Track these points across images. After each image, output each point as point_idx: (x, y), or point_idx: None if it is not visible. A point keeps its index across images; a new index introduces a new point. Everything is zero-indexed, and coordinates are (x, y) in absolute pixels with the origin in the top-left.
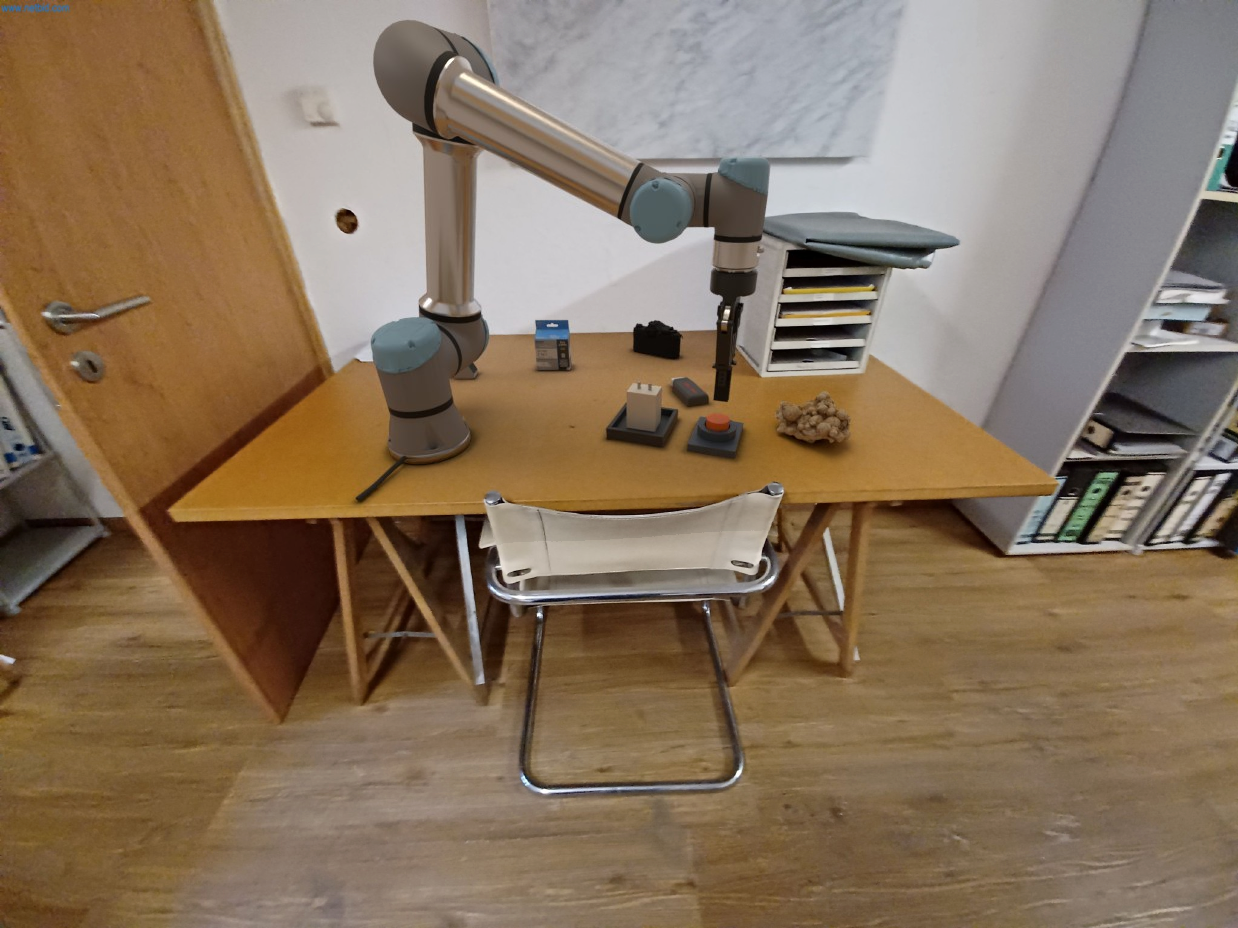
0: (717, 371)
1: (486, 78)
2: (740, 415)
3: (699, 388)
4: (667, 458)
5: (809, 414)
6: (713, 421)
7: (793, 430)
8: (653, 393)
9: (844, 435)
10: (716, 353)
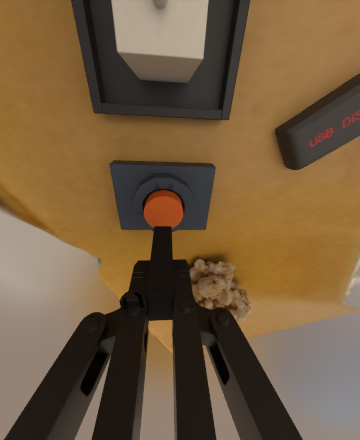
0: (147, 287)
1: None
2: (246, 216)
3: (329, 148)
4: (75, 131)
5: (203, 299)
6: (148, 209)
7: None
8: (130, 32)
9: None
10: (23, 416)
